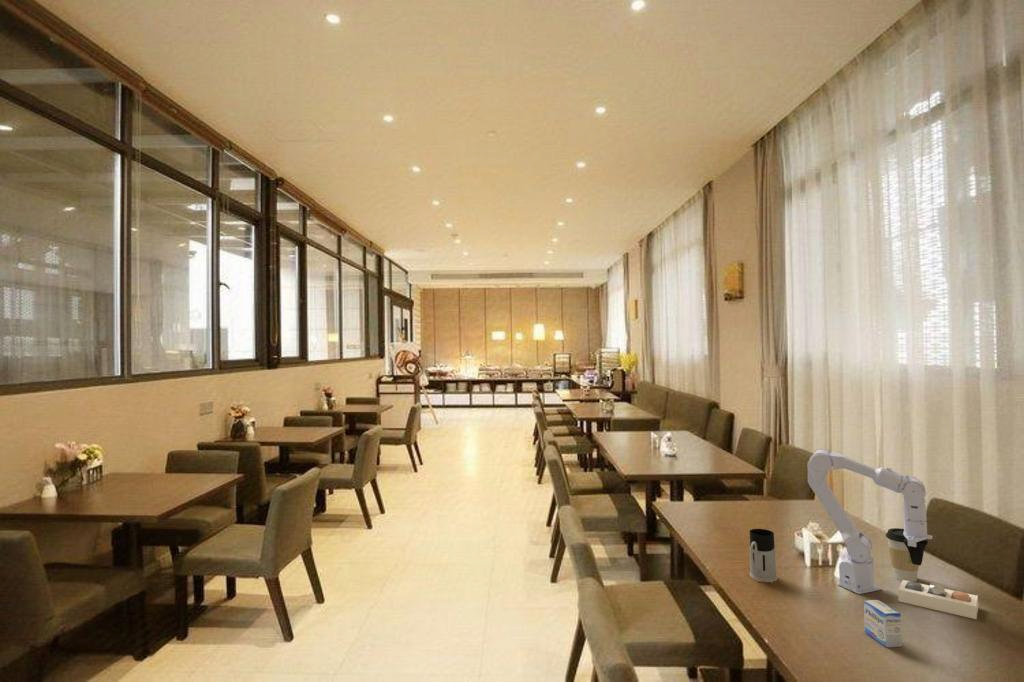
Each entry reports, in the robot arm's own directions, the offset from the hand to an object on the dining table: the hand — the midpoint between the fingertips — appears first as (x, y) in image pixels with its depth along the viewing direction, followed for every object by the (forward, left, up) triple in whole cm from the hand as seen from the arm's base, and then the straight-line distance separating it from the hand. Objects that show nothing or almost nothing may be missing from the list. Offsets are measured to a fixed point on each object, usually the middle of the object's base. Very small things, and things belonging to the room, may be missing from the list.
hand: (916, 564), depth 170 cm
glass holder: (-34, +28, -10) cm, 45 cm away
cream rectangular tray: (+1, -5, -10) cm, 11 cm away
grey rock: (+1, -5, -8) cm, 9 cm away
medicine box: (-32, -14, -10) cm, 36 cm away
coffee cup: (+10, +12, -10) cm, 19 cm away
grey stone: (-2, 0, -9) cm, 9 cm away
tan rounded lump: (+4, -10, -9) cm, 14 cm away
